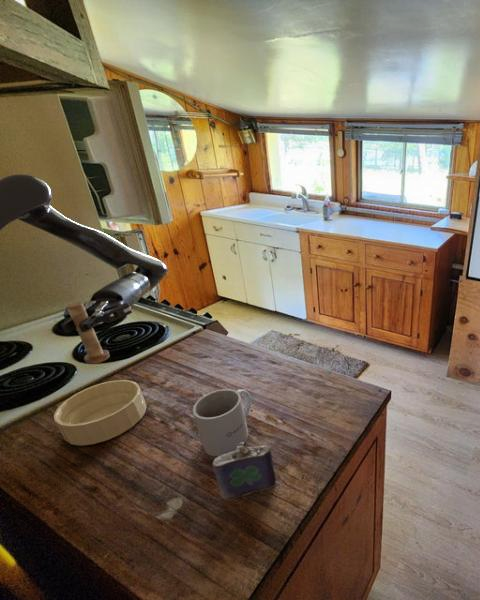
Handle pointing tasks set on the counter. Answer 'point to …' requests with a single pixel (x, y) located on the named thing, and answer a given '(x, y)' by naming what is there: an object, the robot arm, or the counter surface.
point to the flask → (244, 471)
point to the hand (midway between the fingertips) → (73, 328)
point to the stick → (87, 335)
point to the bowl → (100, 412)
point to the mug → (222, 420)
